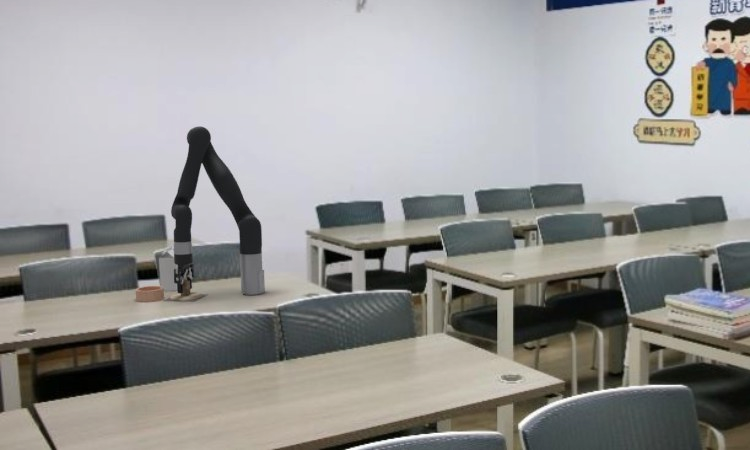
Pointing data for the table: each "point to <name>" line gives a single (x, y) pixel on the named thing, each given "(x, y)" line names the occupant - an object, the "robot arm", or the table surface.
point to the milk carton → (167, 270)
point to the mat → (190, 300)
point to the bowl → (149, 294)
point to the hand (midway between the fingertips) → (184, 291)
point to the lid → (185, 293)
